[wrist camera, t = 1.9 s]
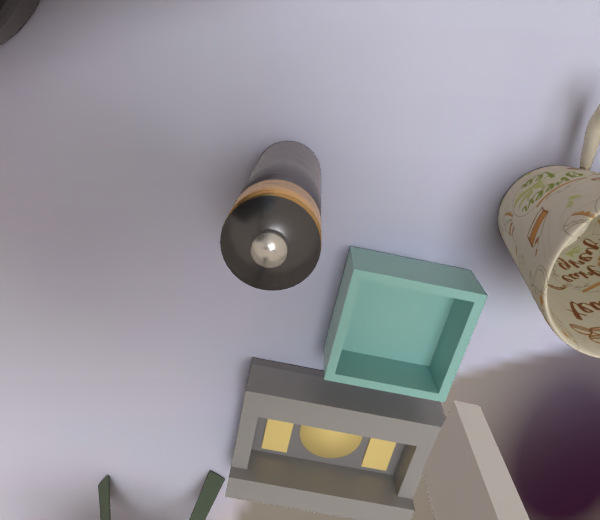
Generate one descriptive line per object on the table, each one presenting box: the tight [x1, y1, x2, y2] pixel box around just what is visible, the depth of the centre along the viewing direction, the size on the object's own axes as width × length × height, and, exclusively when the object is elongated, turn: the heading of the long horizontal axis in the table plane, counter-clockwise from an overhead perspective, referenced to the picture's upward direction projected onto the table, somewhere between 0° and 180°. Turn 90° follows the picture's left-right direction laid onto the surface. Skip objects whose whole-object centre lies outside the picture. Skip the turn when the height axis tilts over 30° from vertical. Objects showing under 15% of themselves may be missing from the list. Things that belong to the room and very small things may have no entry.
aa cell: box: [220, 141, 321, 290], centre depth 25 cm, size 4×4×13 cm
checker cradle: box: [225, 358, 446, 520], centre depth 37 cm, size 10×14×4 cm
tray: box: [324, 246, 488, 402], centre depth 32 cm, size 8×8×4 cm
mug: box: [498, 105, 600, 358], centre depth 25 cm, size 8×13×10 cm, turn 178°
